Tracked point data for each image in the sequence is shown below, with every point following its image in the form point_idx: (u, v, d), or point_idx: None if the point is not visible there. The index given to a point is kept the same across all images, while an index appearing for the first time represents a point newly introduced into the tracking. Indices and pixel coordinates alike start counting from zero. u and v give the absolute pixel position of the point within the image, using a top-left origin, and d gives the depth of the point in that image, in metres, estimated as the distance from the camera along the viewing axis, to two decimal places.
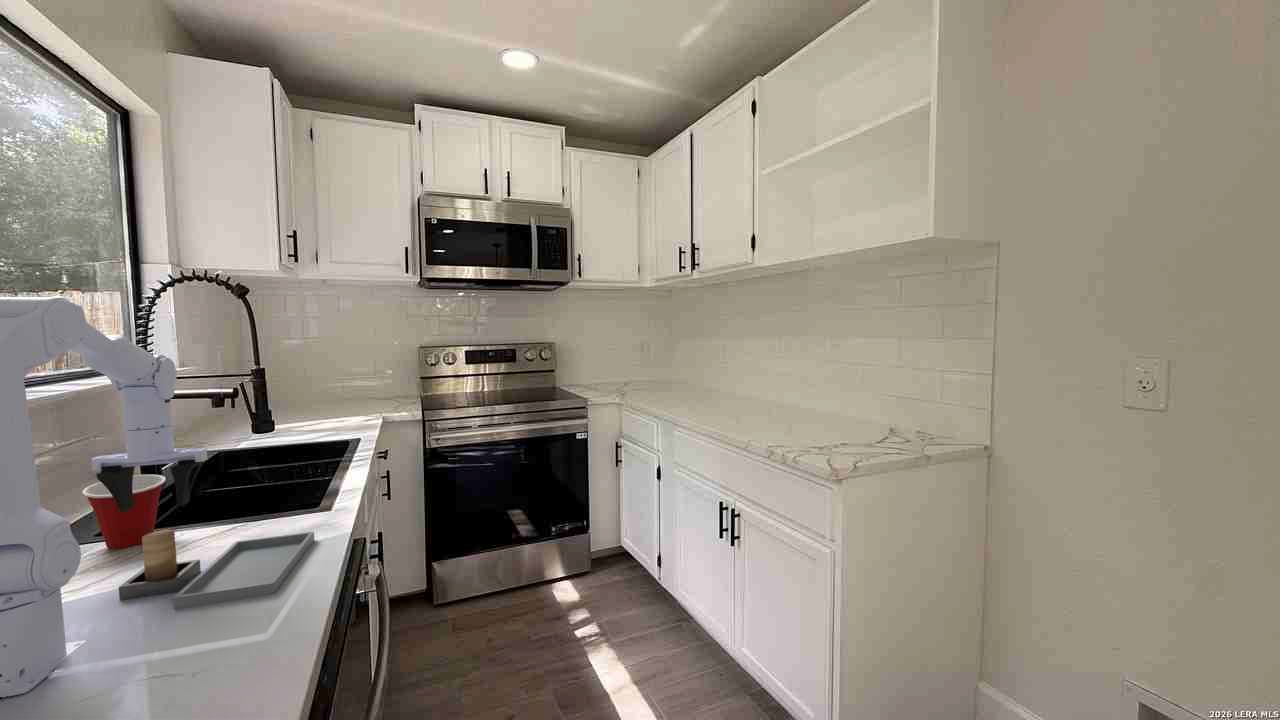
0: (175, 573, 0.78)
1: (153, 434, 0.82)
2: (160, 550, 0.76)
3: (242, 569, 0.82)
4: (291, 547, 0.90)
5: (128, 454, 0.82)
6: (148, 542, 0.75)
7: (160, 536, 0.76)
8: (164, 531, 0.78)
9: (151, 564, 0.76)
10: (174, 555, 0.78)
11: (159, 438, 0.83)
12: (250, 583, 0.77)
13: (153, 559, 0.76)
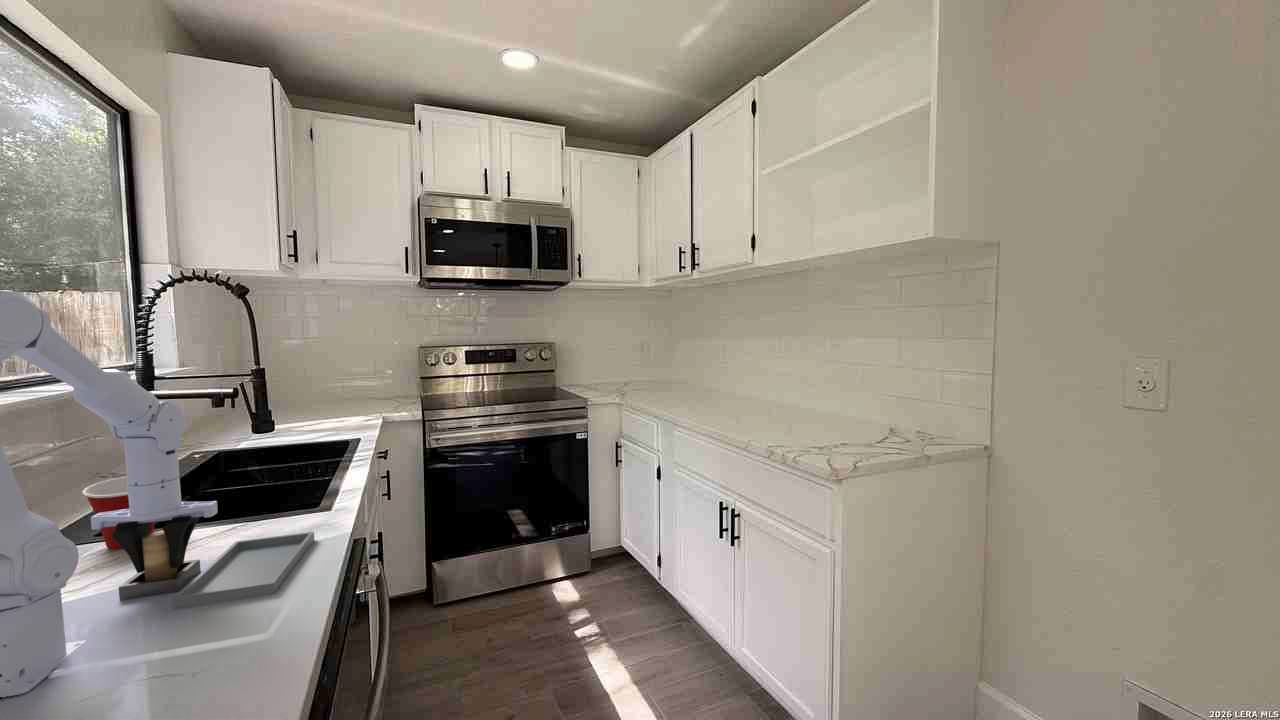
0: (175, 573, 0.78)
1: (159, 489, 0.75)
2: (160, 550, 0.76)
3: (242, 569, 0.82)
4: (291, 547, 0.90)
5: (131, 512, 0.74)
6: (148, 542, 0.75)
7: (160, 536, 0.76)
8: None
9: (151, 564, 0.76)
10: None
11: (165, 493, 0.76)
12: (250, 583, 0.77)
13: (153, 559, 0.76)
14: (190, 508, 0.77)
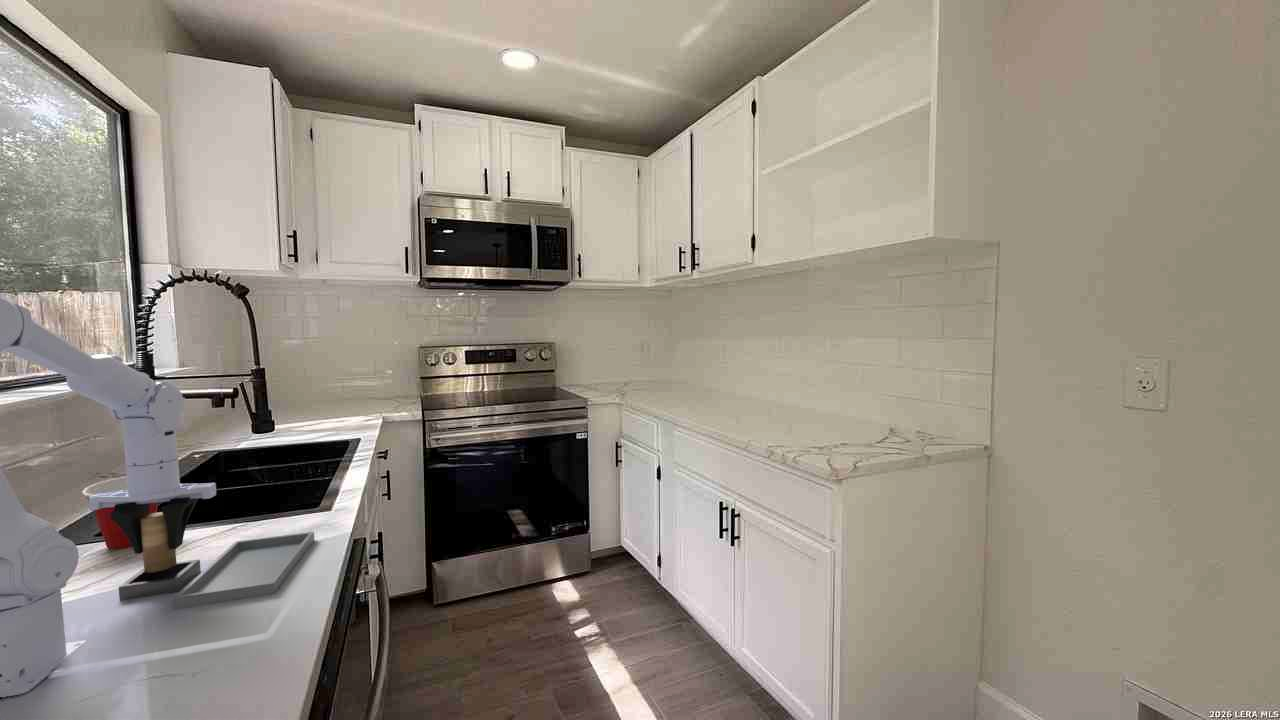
0: (173, 555, 0.78)
1: (157, 470, 0.75)
2: (158, 531, 0.76)
3: (242, 569, 0.82)
4: (291, 547, 0.90)
5: (129, 492, 0.74)
6: (146, 522, 0.75)
7: (158, 517, 0.76)
8: (162, 513, 0.78)
9: (149, 545, 0.75)
10: None
11: (163, 474, 0.76)
12: (250, 583, 0.77)
13: (151, 540, 0.76)
14: (188, 489, 0.77)
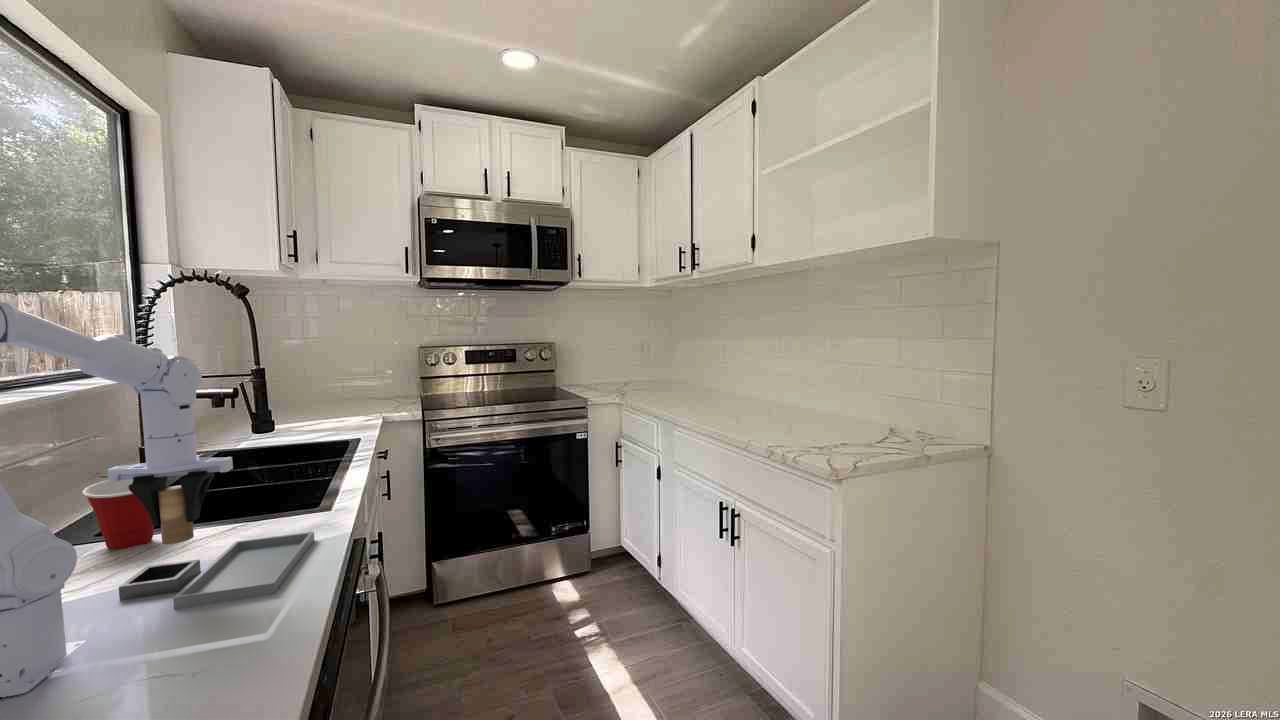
0: (191, 528, 0.79)
1: (175, 442, 0.75)
2: (176, 503, 0.77)
3: (242, 569, 0.82)
4: (291, 547, 0.90)
5: (148, 464, 0.75)
6: (164, 495, 0.76)
7: (176, 490, 0.77)
8: (179, 486, 0.79)
9: (167, 517, 0.76)
10: None
11: (181, 447, 0.76)
12: (250, 583, 0.77)
13: (169, 512, 0.76)
14: (206, 462, 0.78)
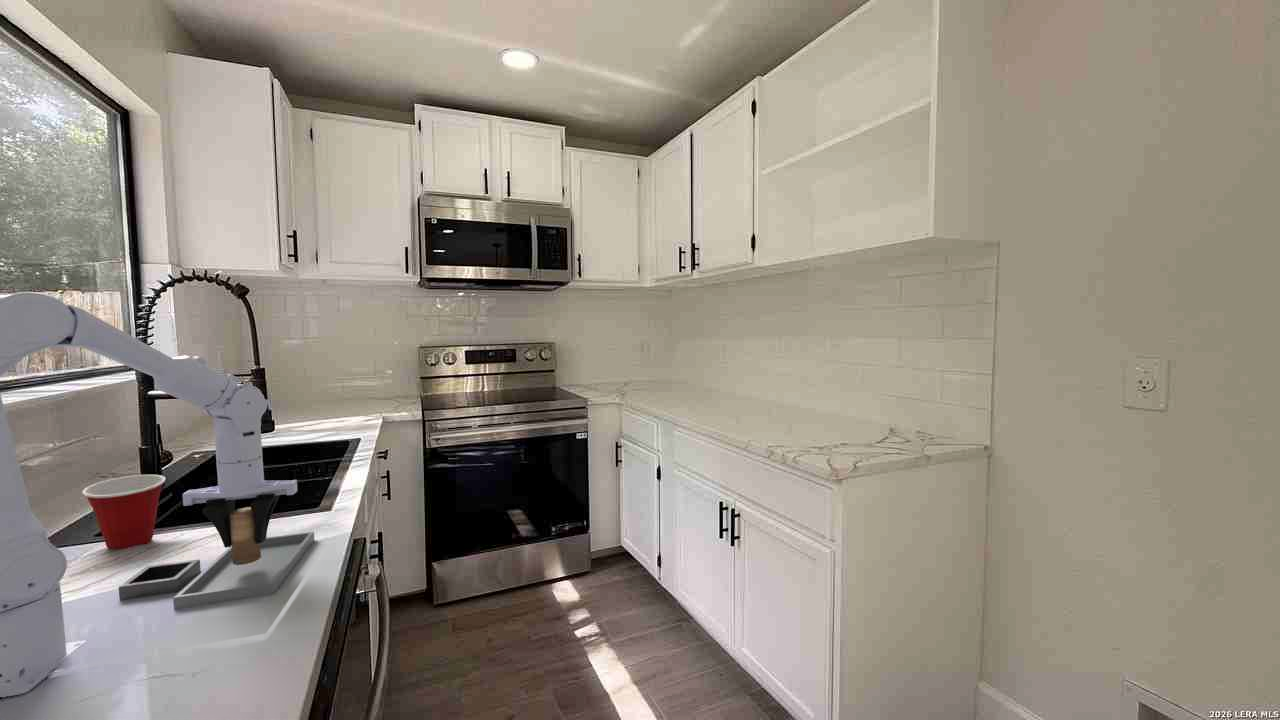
0: (259, 548, 0.81)
1: (246, 467, 0.78)
2: (246, 526, 0.80)
3: (242, 569, 0.82)
4: (291, 547, 0.90)
5: (221, 489, 0.78)
6: (235, 517, 0.79)
7: (246, 512, 0.80)
8: (248, 508, 0.82)
9: (238, 539, 0.79)
10: None
11: (252, 471, 0.79)
12: (250, 583, 0.77)
13: (240, 534, 0.79)
14: (274, 486, 0.80)
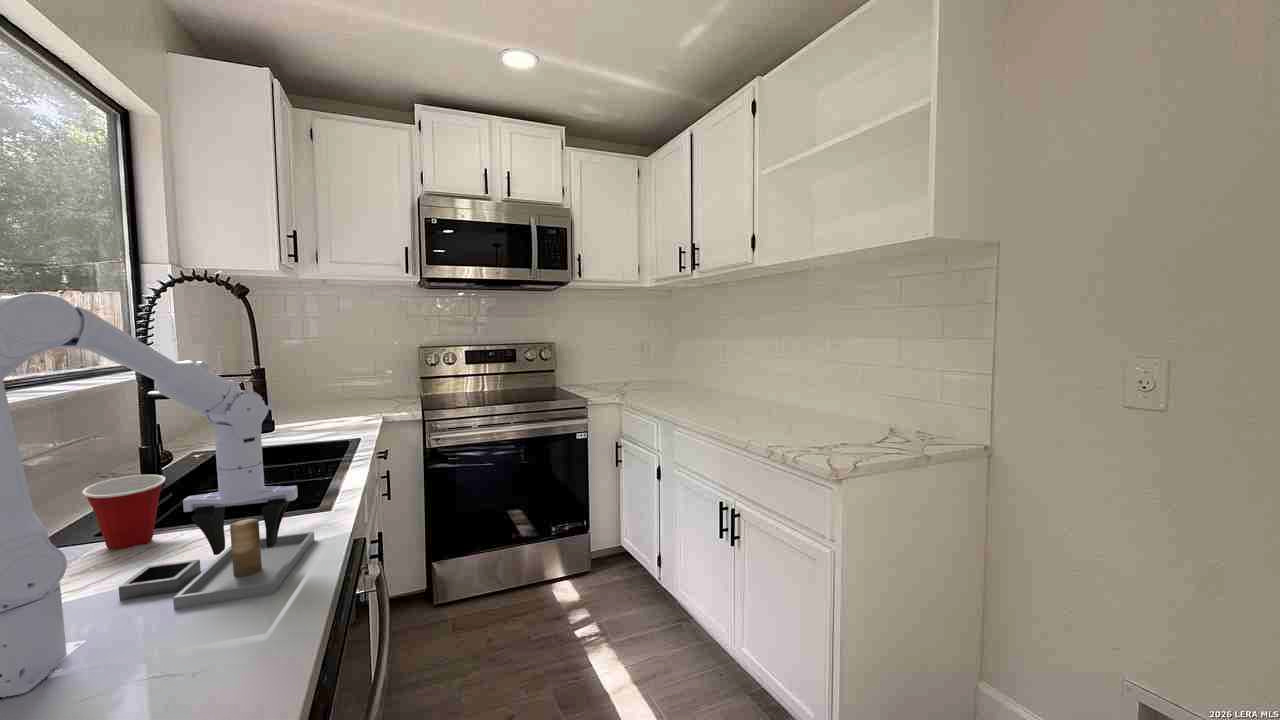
0: (260, 560, 0.82)
1: (246, 473, 0.78)
2: (247, 538, 0.80)
3: None
4: (291, 547, 0.90)
5: (221, 495, 0.78)
6: (236, 530, 0.79)
7: (247, 525, 0.80)
8: (249, 520, 0.82)
9: (239, 551, 0.79)
10: (259, 543, 0.81)
11: (252, 477, 0.79)
12: (250, 583, 0.77)
13: (241, 547, 0.79)
14: (274, 492, 0.81)
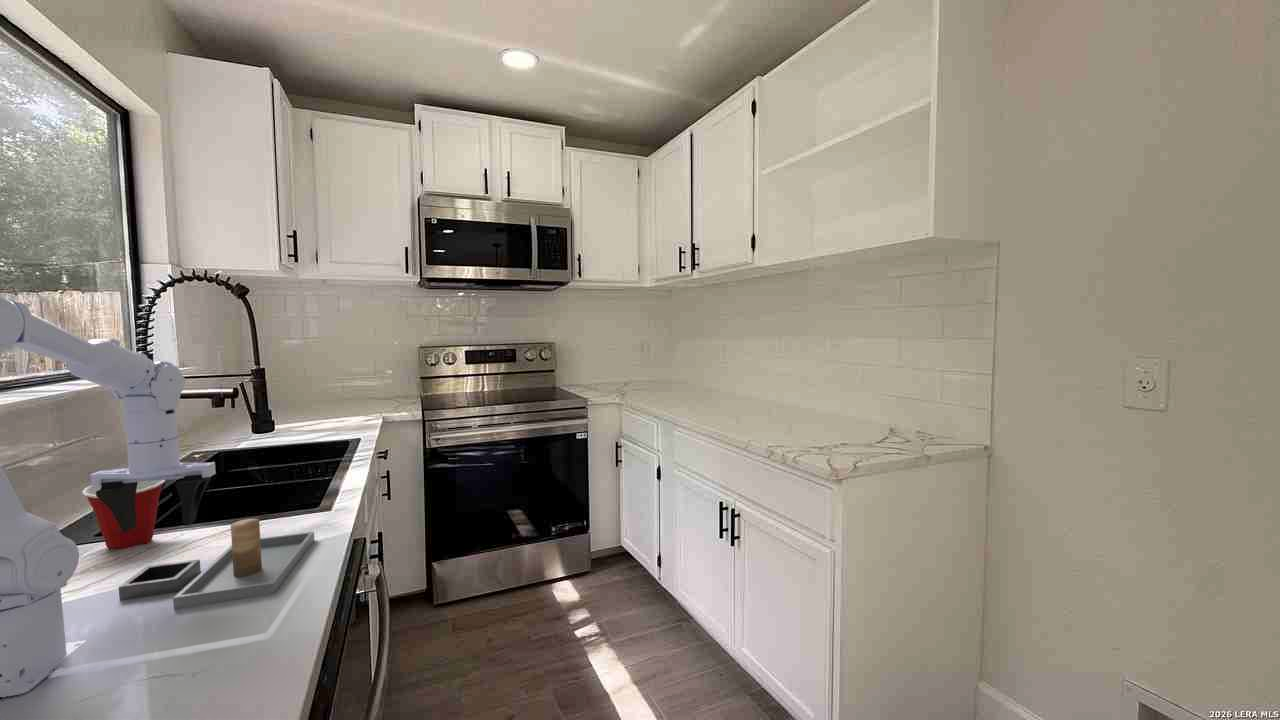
0: (260, 560, 0.82)
1: (157, 448, 0.76)
2: (248, 538, 0.80)
3: None
4: (291, 547, 0.90)
5: (130, 469, 0.75)
6: (237, 529, 0.79)
7: (247, 524, 0.80)
8: (249, 520, 0.82)
9: (240, 551, 0.79)
10: (259, 543, 0.82)
11: (163, 452, 0.76)
12: (250, 583, 0.77)
13: (241, 546, 0.79)
14: (188, 468, 0.78)
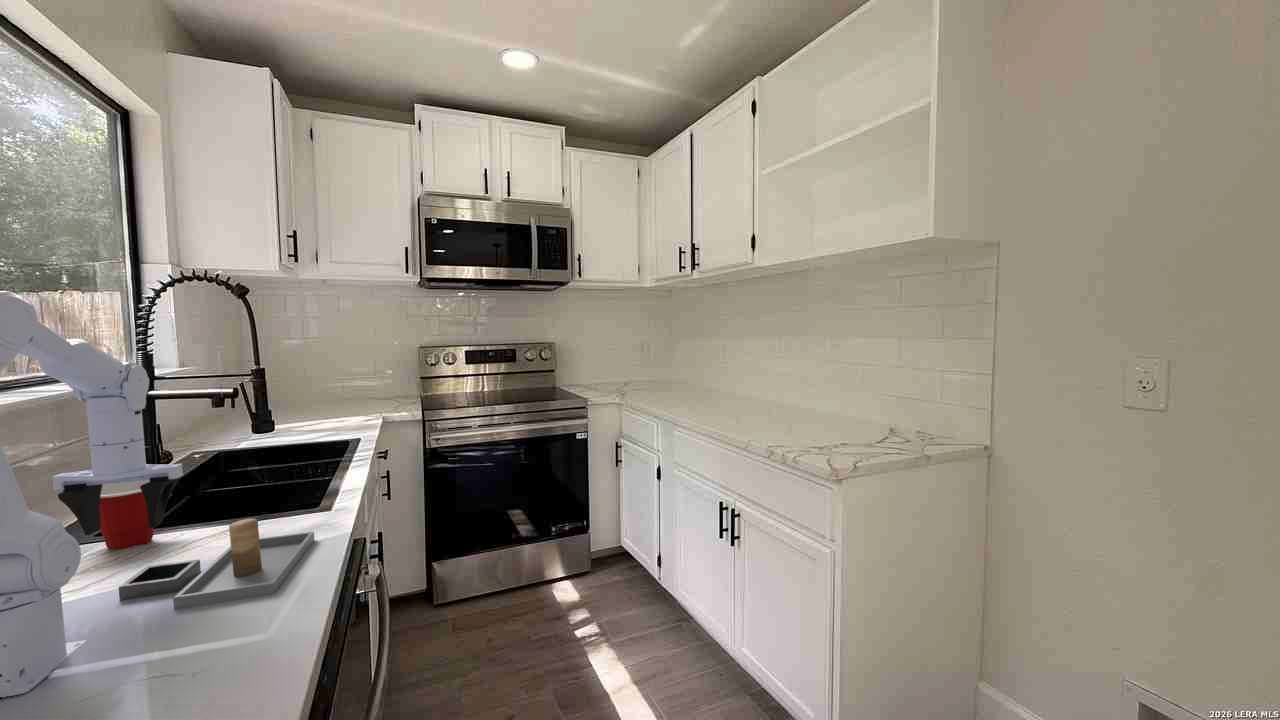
0: (259, 560, 0.82)
1: (121, 449, 0.75)
2: (247, 537, 0.80)
3: None
4: (291, 547, 0.90)
5: (93, 471, 0.74)
6: (236, 529, 0.79)
7: (246, 524, 0.80)
8: (248, 520, 0.82)
9: (239, 551, 0.79)
10: (258, 542, 0.82)
11: (128, 453, 0.76)
12: (250, 583, 0.77)
13: (240, 546, 0.79)
14: (154, 469, 0.77)
